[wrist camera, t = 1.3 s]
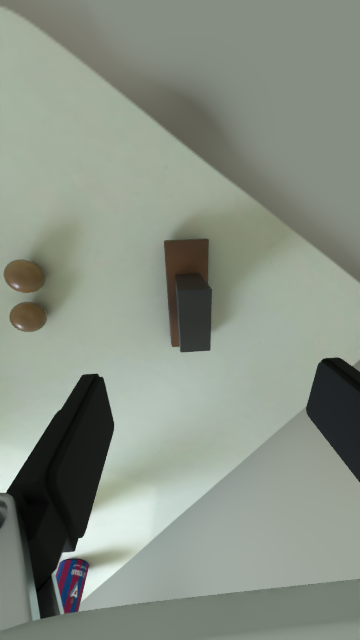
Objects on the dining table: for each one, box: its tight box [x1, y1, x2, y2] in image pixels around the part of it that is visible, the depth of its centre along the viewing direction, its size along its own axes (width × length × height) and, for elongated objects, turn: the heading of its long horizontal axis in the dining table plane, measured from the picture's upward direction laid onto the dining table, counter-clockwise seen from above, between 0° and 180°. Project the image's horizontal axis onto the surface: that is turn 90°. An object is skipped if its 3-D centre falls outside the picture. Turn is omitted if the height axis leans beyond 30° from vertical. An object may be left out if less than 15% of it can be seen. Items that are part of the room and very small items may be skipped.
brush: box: [164, 239, 212, 352], centre depth 18 cm, size 11×4×7 cm, turn 2°
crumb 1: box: [4, 260, 45, 293], centre depth 19 cm, size 3×3×3 cm
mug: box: [55, 559, 89, 614], centre depth 43 cm, size 7×10×7 cm
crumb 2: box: [10, 302, 47, 332], centre depth 20 cm, size 3×3×3 cm
